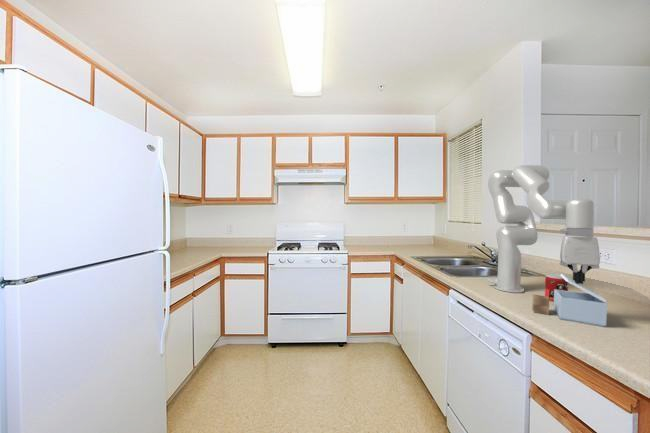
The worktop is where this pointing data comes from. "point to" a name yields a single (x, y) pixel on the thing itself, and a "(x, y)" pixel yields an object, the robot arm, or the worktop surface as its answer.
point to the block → (540, 304)
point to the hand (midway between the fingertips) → (578, 282)
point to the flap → (583, 288)
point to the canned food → (554, 285)
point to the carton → (580, 308)
